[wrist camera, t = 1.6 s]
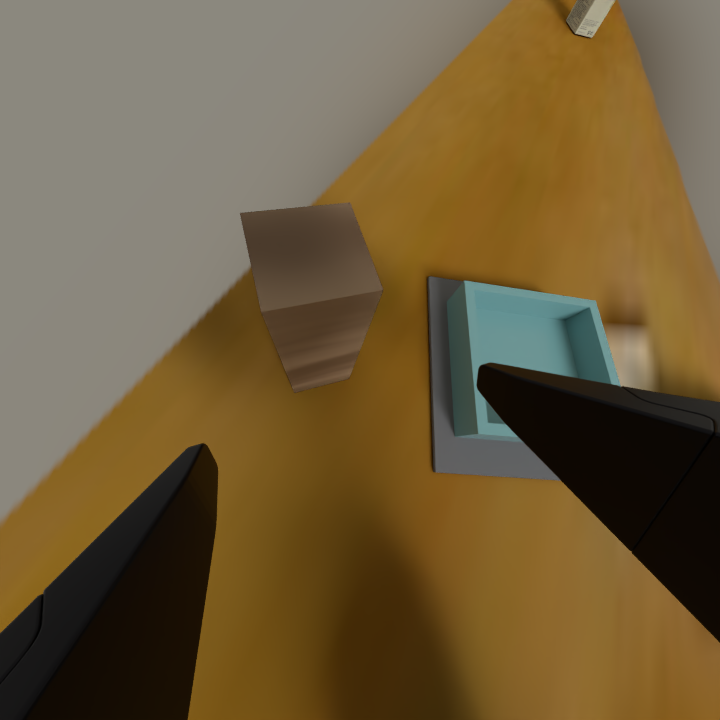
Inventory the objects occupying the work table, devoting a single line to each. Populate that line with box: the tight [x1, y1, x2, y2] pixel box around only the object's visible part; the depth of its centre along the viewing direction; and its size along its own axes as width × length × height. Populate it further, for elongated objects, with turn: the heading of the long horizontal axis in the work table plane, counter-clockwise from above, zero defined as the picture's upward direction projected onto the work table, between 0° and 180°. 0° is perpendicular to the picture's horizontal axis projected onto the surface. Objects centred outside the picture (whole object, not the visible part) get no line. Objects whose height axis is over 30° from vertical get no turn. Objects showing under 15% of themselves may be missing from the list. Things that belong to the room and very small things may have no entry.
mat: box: [428, 276, 560, 480], centre depth 24 cm, size 18×16×1 cm
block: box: [240, 203, 383, 393], centre depth 16 cm, size 4×4×12 cm
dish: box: [447, 281, 621, 442], centre depth 22 cm, size 13×13×3 cm
